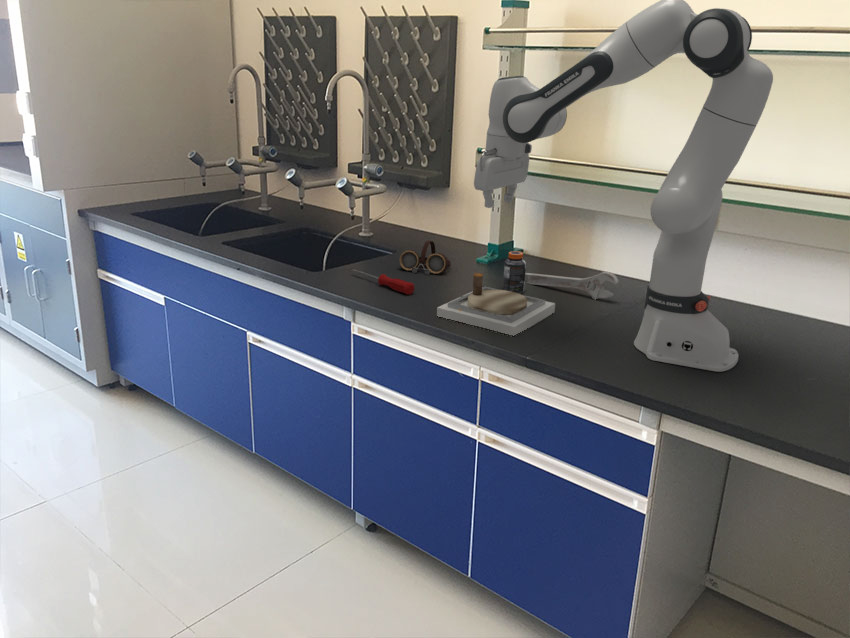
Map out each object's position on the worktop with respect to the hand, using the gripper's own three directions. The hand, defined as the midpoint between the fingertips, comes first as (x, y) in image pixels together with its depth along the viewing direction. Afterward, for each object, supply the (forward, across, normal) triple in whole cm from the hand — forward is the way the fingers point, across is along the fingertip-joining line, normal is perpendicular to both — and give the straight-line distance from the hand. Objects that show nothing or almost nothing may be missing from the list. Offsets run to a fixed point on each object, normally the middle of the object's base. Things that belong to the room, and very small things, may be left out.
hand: (498, 204), depth 176 cm
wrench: (+28, +28, -9) cm, 41 cm away
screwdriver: (+30, 0, +36) cm, 46 cm away
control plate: (+28, -1, -3) cm, 28 cm away
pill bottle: (+28, +19, +3) cm, 34 cm away
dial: (+25, -1, -3) cm, 25 cm away
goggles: (+30, +22, +35) cm, 51 cm away
